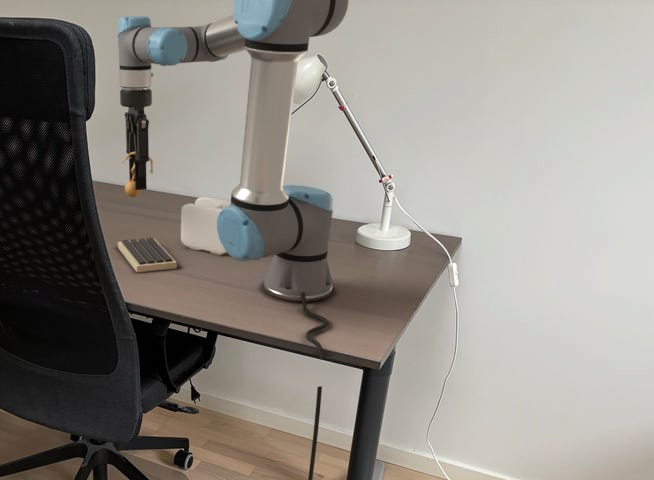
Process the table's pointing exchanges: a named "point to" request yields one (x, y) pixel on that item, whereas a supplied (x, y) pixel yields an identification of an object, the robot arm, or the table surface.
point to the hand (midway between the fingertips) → (138, 186)
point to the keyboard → (146, 255)
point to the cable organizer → (202, 224)
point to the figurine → (131, 185)
